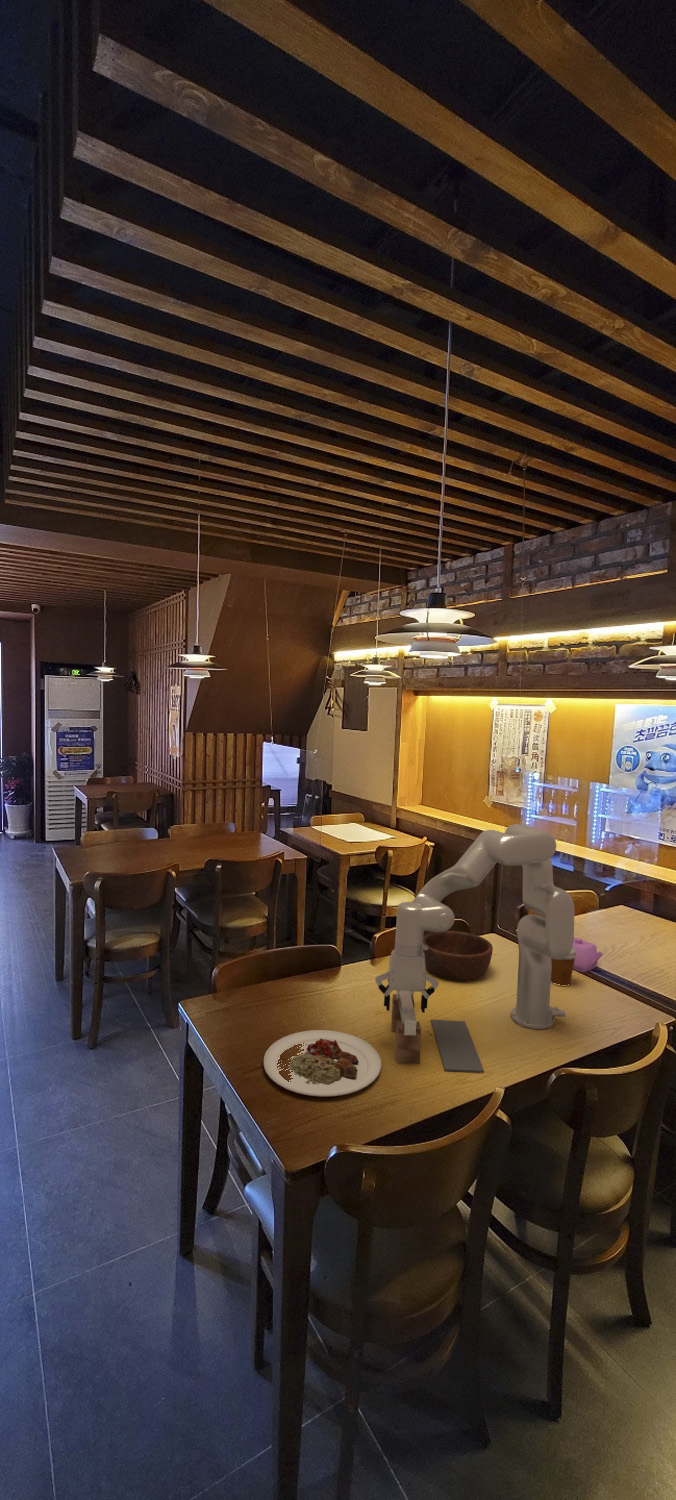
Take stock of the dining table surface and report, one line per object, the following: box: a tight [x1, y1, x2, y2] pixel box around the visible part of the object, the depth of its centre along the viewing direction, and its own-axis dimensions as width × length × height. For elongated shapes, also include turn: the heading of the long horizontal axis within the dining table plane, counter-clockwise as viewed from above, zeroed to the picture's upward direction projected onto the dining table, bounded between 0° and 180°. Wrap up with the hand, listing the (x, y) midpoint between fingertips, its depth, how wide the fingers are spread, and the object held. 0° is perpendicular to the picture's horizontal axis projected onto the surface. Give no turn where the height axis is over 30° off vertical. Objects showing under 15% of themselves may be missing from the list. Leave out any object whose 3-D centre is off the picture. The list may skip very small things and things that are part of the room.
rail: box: [396, 991, 418, 1036], centre depth 173 cm, size 3×22×4 cm, turn 179°
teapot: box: [572, 937, 604, 974], centre depth 233 cm, size 18×10×10 cm, turn 38°
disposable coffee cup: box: [551, 948, 577, 985], centre depth 218 cm, size 10×10×12 cm
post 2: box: [395, 1021, 422, 1065], centre depth 165 cm, size 6×4×9 cm, turn 89°
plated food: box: [263, 1029, 382, 1097], centre depth 161 cm, size 30×30×3 cm
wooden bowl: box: [423, 930, 494, 982], centre depth 225 cm, size 25×25×10 cm
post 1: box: [390, 993, 415, 1033], centre depth 181 cm, size 6×4×9 cm, turn 89°
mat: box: [430, 1019, 485, 1074], centre depth 173 cm, size 10×26×1 cm, turn 179°
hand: (405, 1009), depth 173 cm, fingers open, 9 cm apart
